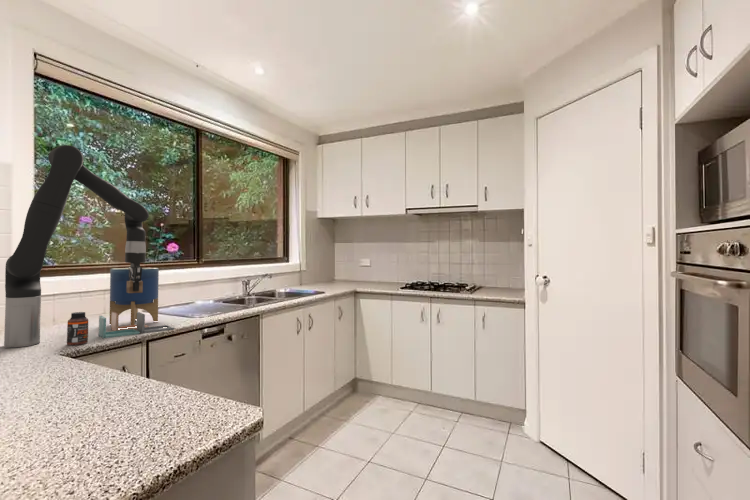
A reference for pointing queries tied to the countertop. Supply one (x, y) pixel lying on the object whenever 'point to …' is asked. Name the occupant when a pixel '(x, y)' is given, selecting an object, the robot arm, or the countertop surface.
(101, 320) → the tray teal
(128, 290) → the letter cube
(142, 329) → the gray bookend
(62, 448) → the countertop surface
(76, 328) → the supplement bottle
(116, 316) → the pale pink holder
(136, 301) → the planter
